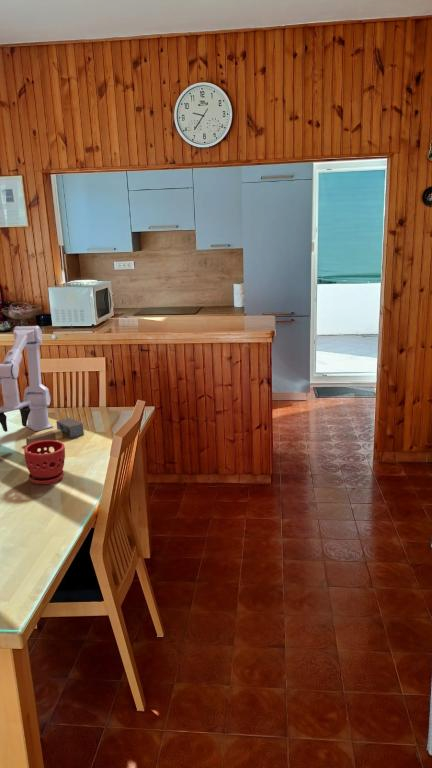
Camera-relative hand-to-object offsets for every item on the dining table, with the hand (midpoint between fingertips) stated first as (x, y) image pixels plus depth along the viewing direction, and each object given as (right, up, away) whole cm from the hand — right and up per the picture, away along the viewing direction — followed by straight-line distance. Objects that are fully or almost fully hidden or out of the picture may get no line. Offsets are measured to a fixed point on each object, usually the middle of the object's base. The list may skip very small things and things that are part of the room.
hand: (15, 428), depth 227 cm
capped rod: (+9, -6, +10) cm, 14 cm away
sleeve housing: (+17, -3, +17) cm, 25 cm away
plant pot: (+20, -16, -26) cm, 36 cm away
